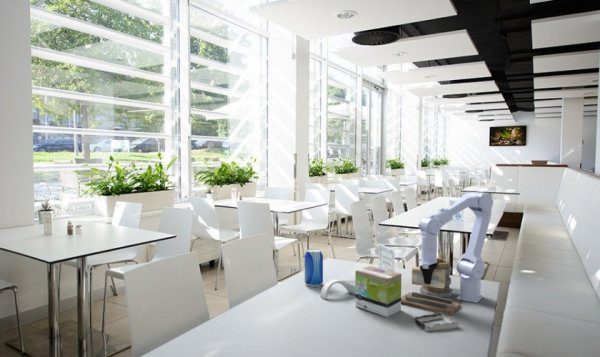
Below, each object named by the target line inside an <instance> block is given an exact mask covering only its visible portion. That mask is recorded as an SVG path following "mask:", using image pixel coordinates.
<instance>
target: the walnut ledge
mask: <svg viewBox="0 0 600 357" xmlns="http://www.w3.org/2000/svg"><path fill="white" fill-rule="evenodd" d="M401 305H403V306H408V307H410V308H412V307H413V308H416V309H421V310H425V311H430V312H433V313H437V312H442V313H443V315H445V316H446V315H447V316H452V315H453V314H454V313H455V312H456V311H457V310H458V309H460V307H461V302H458V301H457V302H456V301H453V299H450V298H447V297H436V296H431V295H426V294H423V293H422V292H415V291H411V292H408V293H406V294H405V295H403V296H401Z"/></svg>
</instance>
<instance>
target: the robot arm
mask: <svg viewBox="0 0 600 357" xmlns="http://www.w3.org/2000/svg"><path fill="white" fill-rule="evenodd" d="M493 206H494V200H493V197H492V196H491V195H490V194H489V193H486V192H475V191H474V192H473V191H467V192H466V193H464V194H462V197H461V198H459V199H458V200H457V201H455V202H454V203H453V204H451V205H450V206H449V207H448V208H446V207H439V208H438V210H437V211H436V212H434V213H433V214H430V215H429V216H428V217H423V218H422V219H421V220H420V222H419V223H418V228H419V230H420V235H421V257H418V261H420V262H421V263H422V264H421V265H419V267H420V270H421V271H422V274H423V278H424V283H425V284H429V285H430V284H431V280H432V274H433V271H434V269H436V267H437V265H438V263H437V258H438V257H437V253H438V248H437V247H438V233H439V232H440V231H441V228H443V227H444V225H446V224H448V223H449V222H450V221H452V220H453V216H454V215H457V214H458V213H460V212H462V211H463V210H466V209H467V208H468V209H470V210H471V211H472V212H473V213H474V215H475V218H474V223H473V225H472V229H471V234H470V237H469V241H468V245H467V248H466V252H465V253H463V254H461V255H460V258H459V260H458V262H457V263H456V271H457V272H458V273H459V276H460V284H459V287H460V288H459V289H460V290H459V291H460V292H459V295H458V296H456V299H457V300H461V301H466V302H469V303H470V302H471V303H476V304H477V303H479V301H481V299H482V298H483V297H484V295H483V294H482V295H481V291H482V290H481V289H482V288H481V286H482V284H481V283H482V282H481V278H483V276H484V274H485V268H484V267H485V261H484V260H483V258H482V253H483V252H482V251H483V248H484V244H485V240H486V237H487V232H488V229H489V225H490V222H491V217H492V208H493Z"/></svg>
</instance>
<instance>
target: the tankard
mask: <svg viewBox="0 0 600 357" xmlns="http://www.w3.org/2000/svg"><path fill="white" fill-rule="evenodd" d="M437 263H438V265H437V267H436V270H444V271H445V287H444V288H436V287H429V286H422V285H421V287H420V288H419V293H422V294H426V295H431V296H436V297H441V298H449V297H451V296H452V295H453V293H454V292H453V291H454V290H453V289H452V288H450V285H451V284H452V278H451V277H450V275H451V273H452V267H451V261H450V260H448V259H445V258H444V253H443V252H439V253H438V257H437Z"/></svg>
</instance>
